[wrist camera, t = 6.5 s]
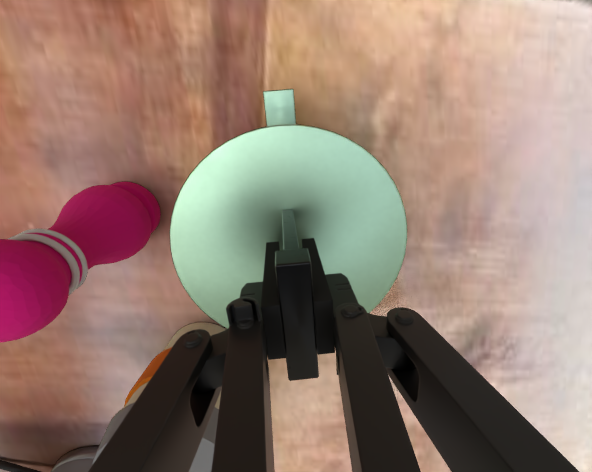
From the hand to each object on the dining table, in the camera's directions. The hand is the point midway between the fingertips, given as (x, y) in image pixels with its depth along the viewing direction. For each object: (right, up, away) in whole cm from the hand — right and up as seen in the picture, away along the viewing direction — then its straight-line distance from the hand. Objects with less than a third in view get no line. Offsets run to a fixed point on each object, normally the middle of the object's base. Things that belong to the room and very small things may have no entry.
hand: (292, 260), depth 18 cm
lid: (0, +1, +2) cm, 2 cm away
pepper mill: (-18, +4, +14) cm, 23 cm away
